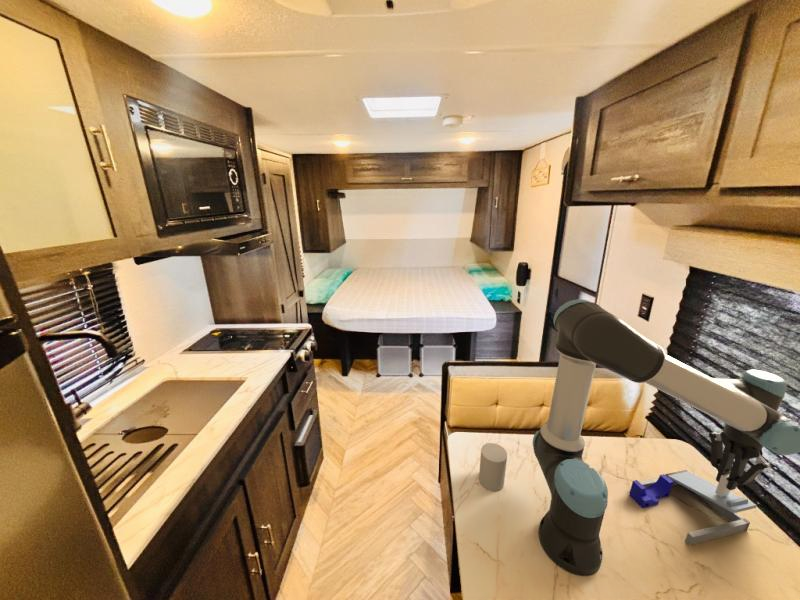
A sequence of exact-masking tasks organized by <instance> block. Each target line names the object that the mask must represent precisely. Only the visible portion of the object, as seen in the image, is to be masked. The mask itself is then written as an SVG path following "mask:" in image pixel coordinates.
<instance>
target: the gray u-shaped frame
mask: <svg viewBox="0 0 800 600" xmlns="http://www.w3.org/2000/svg"><path fill="white" fill-rule="evenodd" d="M658 478H659V477H655V478H651V479H646V480H640V481H639V482H640V483H641V484H642V485H643V486H644V487H645V488H649V487H650V486H652V485H653V484H654V483H655V482H656V481H657V480H658ZM672 481H673V480H672ZM674 485H676V486H677V485H680V484H679V483H677V482H675V481H673V485H672V486H674ZM695 494H696V495H697V496H698V497H700V498H701V499H702V500H704V501H705V502H706V503H707V504H708V505H710V506H711V507H712V508H713V509H715V510H716V511H717V512H719V514H721V515H722V516H724V517H725V518H726V519H728V521H729V522H725V523H723V524H718V525H713V526H710V527H706V528H705V527H704V528H702V529H698V530H694V531H690V532H687V535H686V537H685V543H687V544H688V545H689V546H693V545H696V544H700V543H704V542H708V541H711V540H715V539H720V538H723V537H727V536H732V535H734V534H739V533H742V532H747V531H748V528H749V526H750V524H751V522H750V521H749V520H747V519H746V518H745V517H744V516H742V515H741V514H740V513H739V512H737V513H732V512H730V511H729V510H727V509H725V508H723V507H721V506H719V505H717V504H716V503H714V502H712V501H710V500H708V499H706V498H704V497H703V496H701V495H699V494H697V493H695Z"/></svg>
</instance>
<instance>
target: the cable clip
mask: <svg viewBox="0 0 800 600" xmlns="http://www.w3.org/2000/svg"><path fill="white" fill-rule="evenodd" d="M657 478H658V480H657V481H656V482H655V483H654V484H653V485H652V486H650V487H649V488H645V487H644V486H643V485H642V484H641V483H640V481H638V480H637V479H635V480H632V482H631V486H630V491H629V493H628V495H629V497H630V498H631V499H632V500H633V501H634V502H635V503H637V505H638V506H639V507H641V509H645V508H649V507H653V506H657V505H659V504H660V500H659V499H664V498H667V497H670V494H671V491H672V488H673V486H674V485H673V481H672V480H671V479H669V478H668V477H667V476H666V475H665V474H664V473H663V474H660V475H659V476H658V477H657Z"/></svg>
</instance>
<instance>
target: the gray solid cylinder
mask: <svg viewBox="0 0 800 600" xmlns="http://www.w3.org/2000/svg"><path fill="white" fill-rule="evenodd" d="M480 450H481V451H480V461H479V462H480V463H479V472H478V481H479V484H480V486H482V488H483V489H485V490H486V491H489V492H492V493H495V492H496V493H497V492H500V491H502V490H503V489H504V486H505V478H506V470H507V461H508V460H507V459H508V452H507V450H506V449H505V448H504V447H503V446H501V445H500V444H498V443H495V442H487V443H485V444H483V445H482V447H481V449H480Z"/></svg>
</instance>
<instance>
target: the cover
mask: <svg viewBox="0 0 800 600" xmlns="http://www.w3.org/2000/svg"><path fill="white" fill-rule="evenodd" d="M664 475H666V476H667V477H668V478H669V479H671V480H673V481H675V482H677V483H679V484H678V485H681V486H683V487H684V488H686V489H688V490H689V491H692V492H694V493H695V494H696V493H697V494H699V495H701V496H703V497H704V498H706V499H708V500H710V501H712V502H714V503H716V504H717V505H719V506H721V507H723V508H725V509H727V510H729V511H730V512H732V513H740V512H744V511H748V510H753V509H757V504H755V503H753V502H751V501H749V499H748V498H746V497H744V496H743V497H741V496H740V495H738V494H735V493H734V492H731V491H730V492H729V495H728V496H724V497H720V496H719V495H717V494H716V493H715V491H716V489H717V486H718V484H715V483H713V482H710V481H709V480H706V479H704V478H702V477H700V476H698V475H696V474H694V473H692V472H690V471H688V470H687V469H684V470H683V469H682V470H680V471H675V472H669V473H665V474H664ZM697 494H696V495H697Z"/></svg>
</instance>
